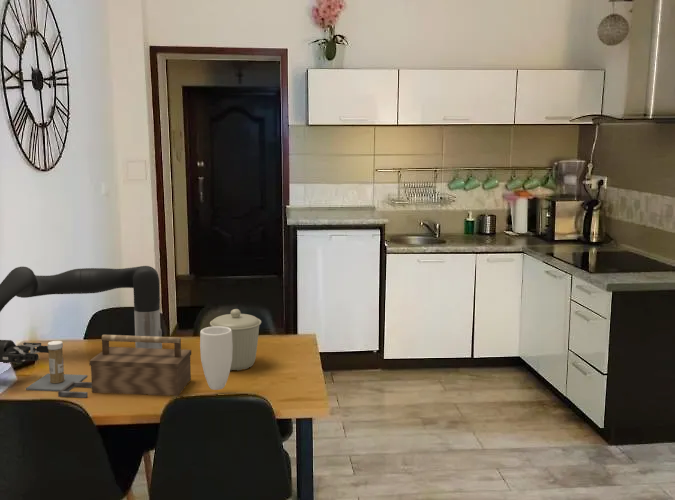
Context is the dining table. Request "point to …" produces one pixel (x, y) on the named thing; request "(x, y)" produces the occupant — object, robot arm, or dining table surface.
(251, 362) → the canister
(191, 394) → the dining table surface
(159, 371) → the toolbox
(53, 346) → the sprinkles bottle
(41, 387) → the slate mat
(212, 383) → the cup
